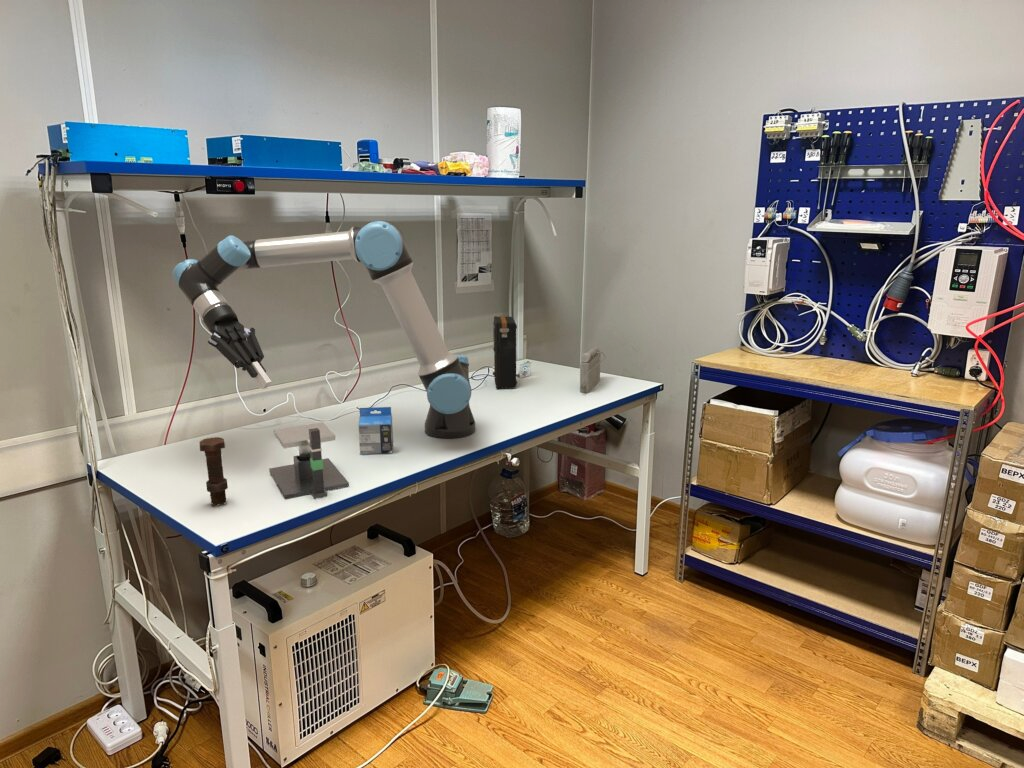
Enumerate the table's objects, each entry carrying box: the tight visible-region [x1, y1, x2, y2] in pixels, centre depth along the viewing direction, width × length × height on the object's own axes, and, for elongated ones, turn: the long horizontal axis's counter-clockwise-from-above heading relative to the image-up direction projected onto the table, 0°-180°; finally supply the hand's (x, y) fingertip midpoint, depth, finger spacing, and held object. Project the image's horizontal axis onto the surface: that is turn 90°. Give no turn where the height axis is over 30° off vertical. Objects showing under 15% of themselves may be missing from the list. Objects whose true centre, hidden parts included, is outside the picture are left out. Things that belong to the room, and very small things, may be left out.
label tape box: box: [358, 406, 394, 455], centre depth 188 cm, size 9×4×12 cm, turn 95°
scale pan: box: [273, 422, 336, 461], centre depth 167 cm, size 12×16×7 cm
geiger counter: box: [579, 345, 606, 394], centre depth 252 cm, size 14×6×25 cm
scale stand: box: [268, 428, 350, 500], centre depth 167 cm, size 15×22×16 cm
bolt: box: [199, 436, 229, 507], centre depth 155 cm, size 6×5×15 cm
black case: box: [492, 315, 518, 390], centre depth 256 cm, size 16×9×25 cm, turn 4°
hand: (266, 385), depth 171 cm, fingers closed
